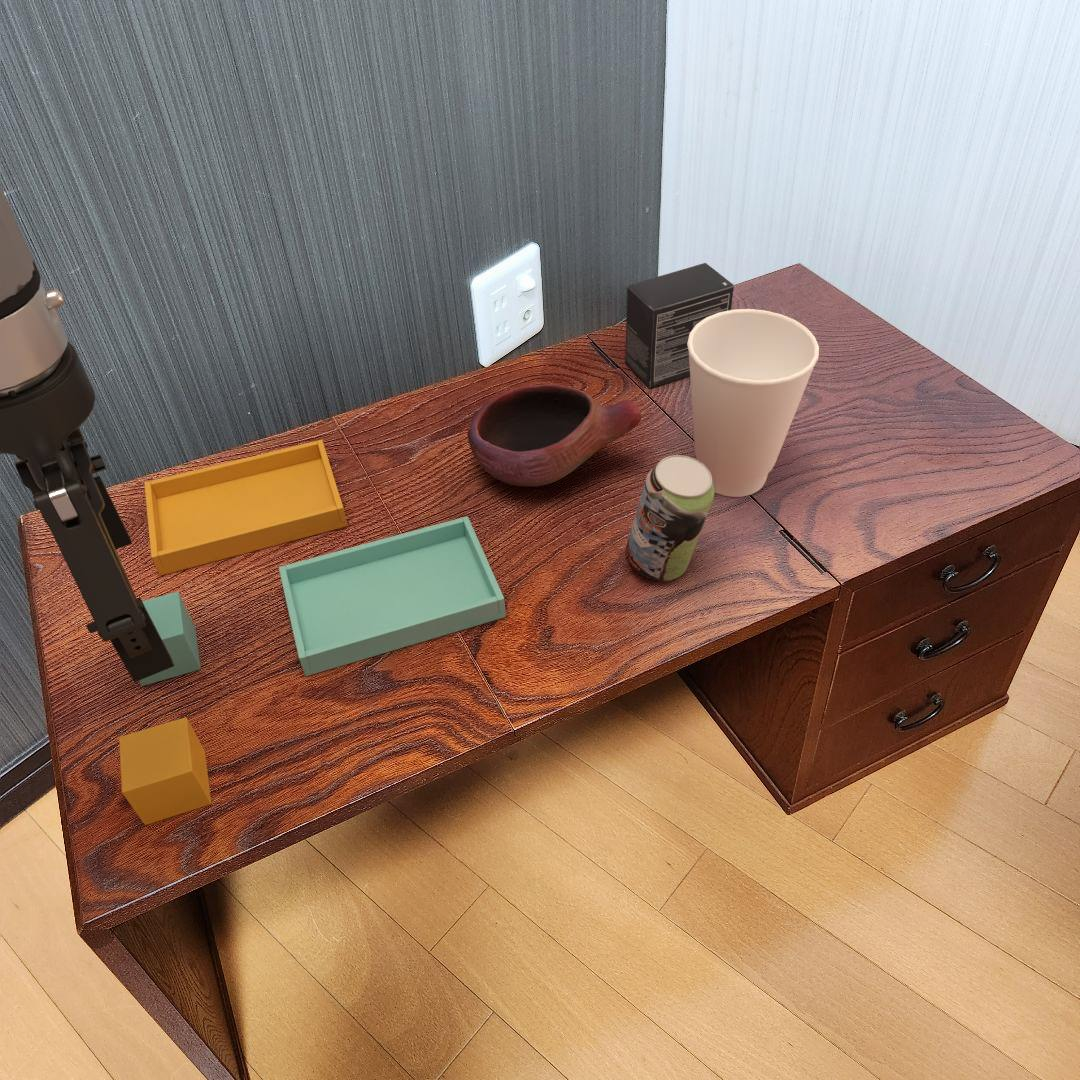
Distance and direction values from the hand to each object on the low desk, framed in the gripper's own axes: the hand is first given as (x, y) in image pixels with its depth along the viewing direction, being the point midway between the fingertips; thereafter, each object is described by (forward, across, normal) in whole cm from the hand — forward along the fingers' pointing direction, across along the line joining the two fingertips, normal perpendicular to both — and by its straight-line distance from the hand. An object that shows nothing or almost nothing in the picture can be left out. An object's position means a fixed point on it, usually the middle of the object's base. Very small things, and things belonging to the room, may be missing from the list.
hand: (132, 605), depth 68 cm
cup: (+14, 0, -57) cm, 58 cm away
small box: (+14, +20, -63) cm, 67 cm away
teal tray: (+14, +2, -20) cm, 24 cm away
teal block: (+14, +7, 0) cm, 15 cm away
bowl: (+14, +12, -41) cm, 45 cm away
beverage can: (+14, -6, -43) cm, 46 cm away
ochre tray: (+14, +21, -11) cm, 27 cm away
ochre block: (+14, -7, +3) cm, 15 cm away
